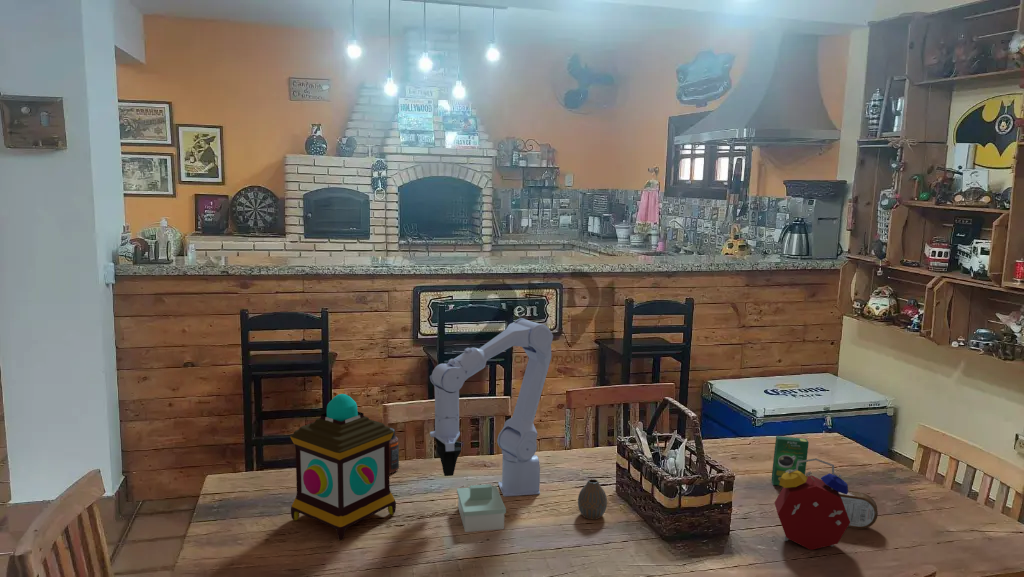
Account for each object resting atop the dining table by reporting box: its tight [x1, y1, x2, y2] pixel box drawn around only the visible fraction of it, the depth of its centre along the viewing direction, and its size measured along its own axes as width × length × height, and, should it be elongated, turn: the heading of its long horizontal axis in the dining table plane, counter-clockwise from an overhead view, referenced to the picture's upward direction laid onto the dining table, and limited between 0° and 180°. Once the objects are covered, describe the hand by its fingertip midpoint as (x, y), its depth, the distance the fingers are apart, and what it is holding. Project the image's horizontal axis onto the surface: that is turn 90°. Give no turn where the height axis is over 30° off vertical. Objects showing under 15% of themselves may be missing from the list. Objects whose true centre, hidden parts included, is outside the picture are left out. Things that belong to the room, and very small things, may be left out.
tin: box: [839, 489, 879, 530], centre depth 170 cm, size 15×3×8 cm, turn 71°
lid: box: [456, 483, 507, 516], centre depth 169 cm, size 10×13×5 cm
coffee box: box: [771, 435, 809, 487], centre depth 190 cm, size 8×3×13 cm, turn 79°
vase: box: [577, 478, 608, 520], centre depth 172 cm, size 7×7×9 cm
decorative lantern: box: [289, 393, 397, 542], centre depth 167 cm, size 20×20×30 cm
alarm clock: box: [774, 458, 850, 551], centre depth 158 cm, size 15×9×20 cm, turn 77°
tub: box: [457, 497, 505, 533], centre depth 170 cm, size 9×12×4 cm
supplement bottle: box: [389, 427, 400, 474], centre depth 196 cm, size 6×6×11 cm
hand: (447, 468), depth 173 cm, fingers open, 7 cm apart
